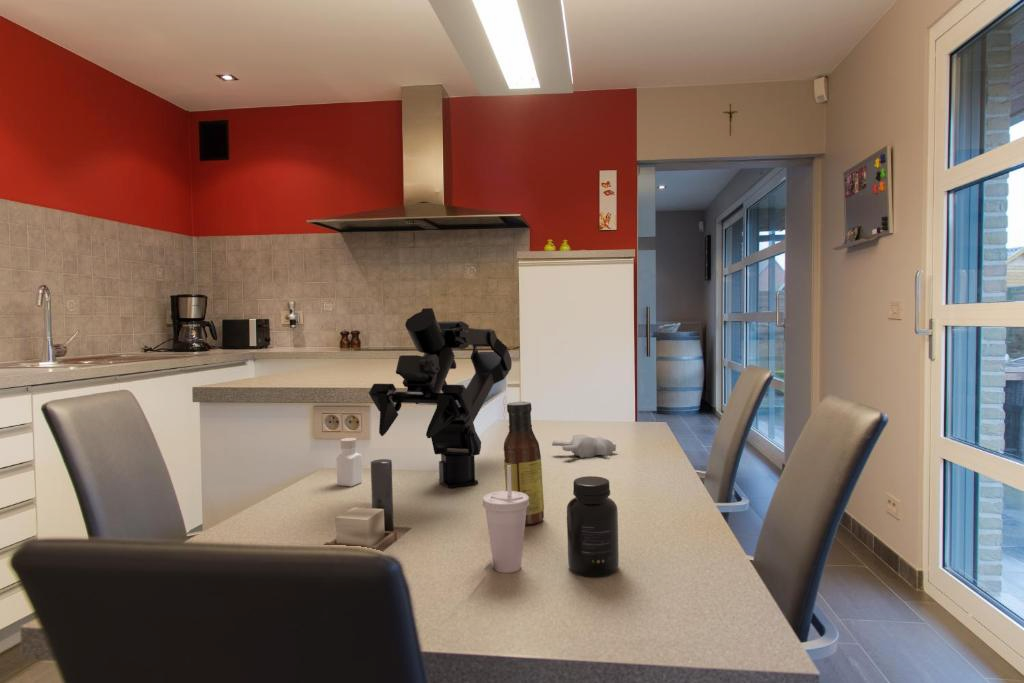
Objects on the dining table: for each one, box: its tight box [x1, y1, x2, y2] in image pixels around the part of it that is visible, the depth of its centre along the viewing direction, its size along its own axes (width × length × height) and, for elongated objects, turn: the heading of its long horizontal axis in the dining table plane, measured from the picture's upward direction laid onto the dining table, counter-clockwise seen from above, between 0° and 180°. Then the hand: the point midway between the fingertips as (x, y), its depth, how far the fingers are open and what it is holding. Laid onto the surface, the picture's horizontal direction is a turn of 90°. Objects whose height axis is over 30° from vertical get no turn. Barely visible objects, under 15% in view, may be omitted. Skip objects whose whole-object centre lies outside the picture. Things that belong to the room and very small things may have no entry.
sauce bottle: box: [503, 401, 545, 526], centre depth 103 cm, size 7×6×20 cm
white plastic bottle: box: [336, 437, 363, 487], centre depth 129 cm, size 4×4×10 cm
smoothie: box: [481, 465, 529, 574], centre depth 84 cm, size 6×6×14 cm
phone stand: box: [323, 458, 413, 552], centre depth 92 cm, size 13×8×12 cm, turn 164°
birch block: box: [335, 506, 385, 546], centre depth 90 cm, size 5×5×5 cm
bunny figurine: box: [551, 434, 617, 459], centre depth 150 cm, size 10×5×15 cm
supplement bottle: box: [566, 475, 620, 578], centre depth 83 cm, size 7×7×12 cm
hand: (403, 435), depth 107 cm, fingers open, 9 cm apart
